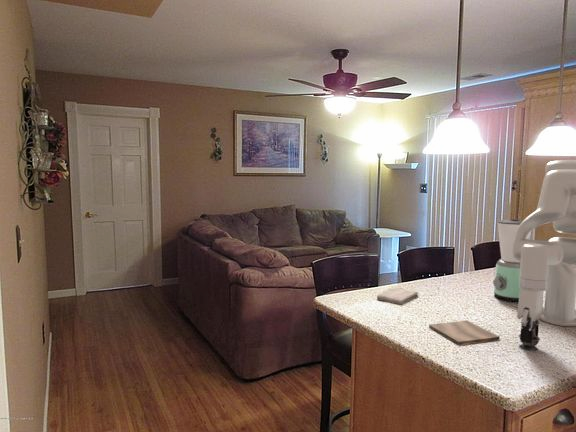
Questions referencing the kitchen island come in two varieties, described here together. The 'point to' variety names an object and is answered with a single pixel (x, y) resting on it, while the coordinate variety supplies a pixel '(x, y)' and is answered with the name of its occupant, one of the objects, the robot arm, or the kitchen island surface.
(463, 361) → the kitchen island surface
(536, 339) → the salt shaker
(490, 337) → the walnut board
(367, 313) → the kitchen island surface
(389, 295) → the washcloth
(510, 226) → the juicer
